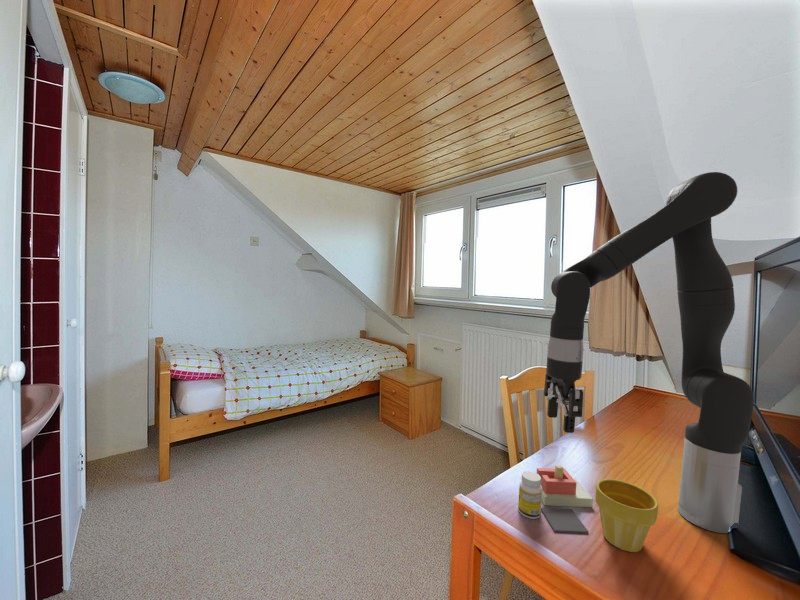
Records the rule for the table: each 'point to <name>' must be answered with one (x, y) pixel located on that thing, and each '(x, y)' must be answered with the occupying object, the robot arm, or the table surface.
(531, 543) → the table surface
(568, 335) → the robot arm
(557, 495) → the stand
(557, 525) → the coaster
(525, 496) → the supplement bottle
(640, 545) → the plant pot
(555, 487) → the c link
